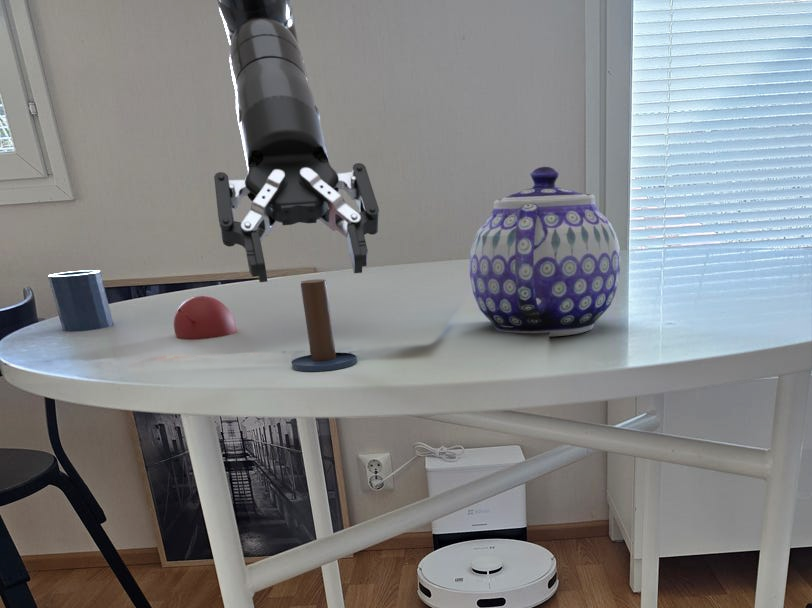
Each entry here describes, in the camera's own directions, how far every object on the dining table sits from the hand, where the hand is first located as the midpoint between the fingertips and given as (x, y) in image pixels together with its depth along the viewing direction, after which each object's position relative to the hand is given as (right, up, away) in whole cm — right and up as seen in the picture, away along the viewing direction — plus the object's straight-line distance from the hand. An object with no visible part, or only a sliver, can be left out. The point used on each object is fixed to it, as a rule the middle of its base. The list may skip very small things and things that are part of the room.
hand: (310, 271), depth 76 cm
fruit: (-13, -4, +12) cm, 18 cm away
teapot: (+22, 0, +14) cm, 26 cm away
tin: (-30, +1, +23) cm, 37 cm away
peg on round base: (+1, -8, +1) cm, 8 cm away
